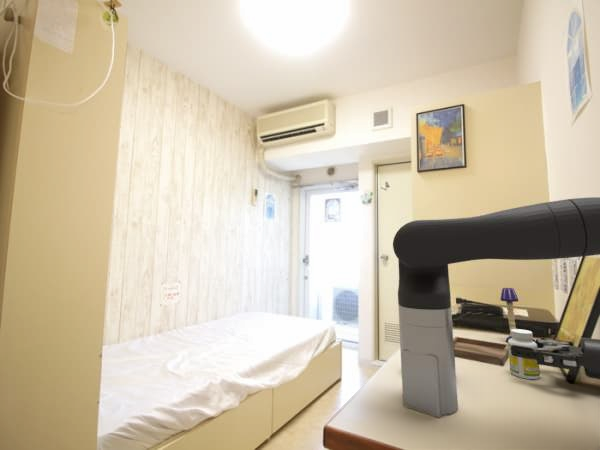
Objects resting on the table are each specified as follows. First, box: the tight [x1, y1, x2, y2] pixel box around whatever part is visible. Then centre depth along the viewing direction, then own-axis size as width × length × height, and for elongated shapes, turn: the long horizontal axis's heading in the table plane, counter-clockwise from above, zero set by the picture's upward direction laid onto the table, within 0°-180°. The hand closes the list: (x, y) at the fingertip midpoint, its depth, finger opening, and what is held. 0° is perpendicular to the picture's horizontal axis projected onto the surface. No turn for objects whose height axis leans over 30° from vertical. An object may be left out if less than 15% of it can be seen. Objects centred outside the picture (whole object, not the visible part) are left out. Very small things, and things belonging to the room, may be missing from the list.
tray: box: [453, 336, 509, 367], centre depth 81 cm, size 15×14×2 cm
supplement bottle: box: [507, 328, 541, 380], centre depth 66 cm, size 5×5×10 cm
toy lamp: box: [500, 287, 519, 344], centre depth 92 cm, size 5×5×17 cm
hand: (513, 345), depth 67 cm, fingers open, 8 cm apart
